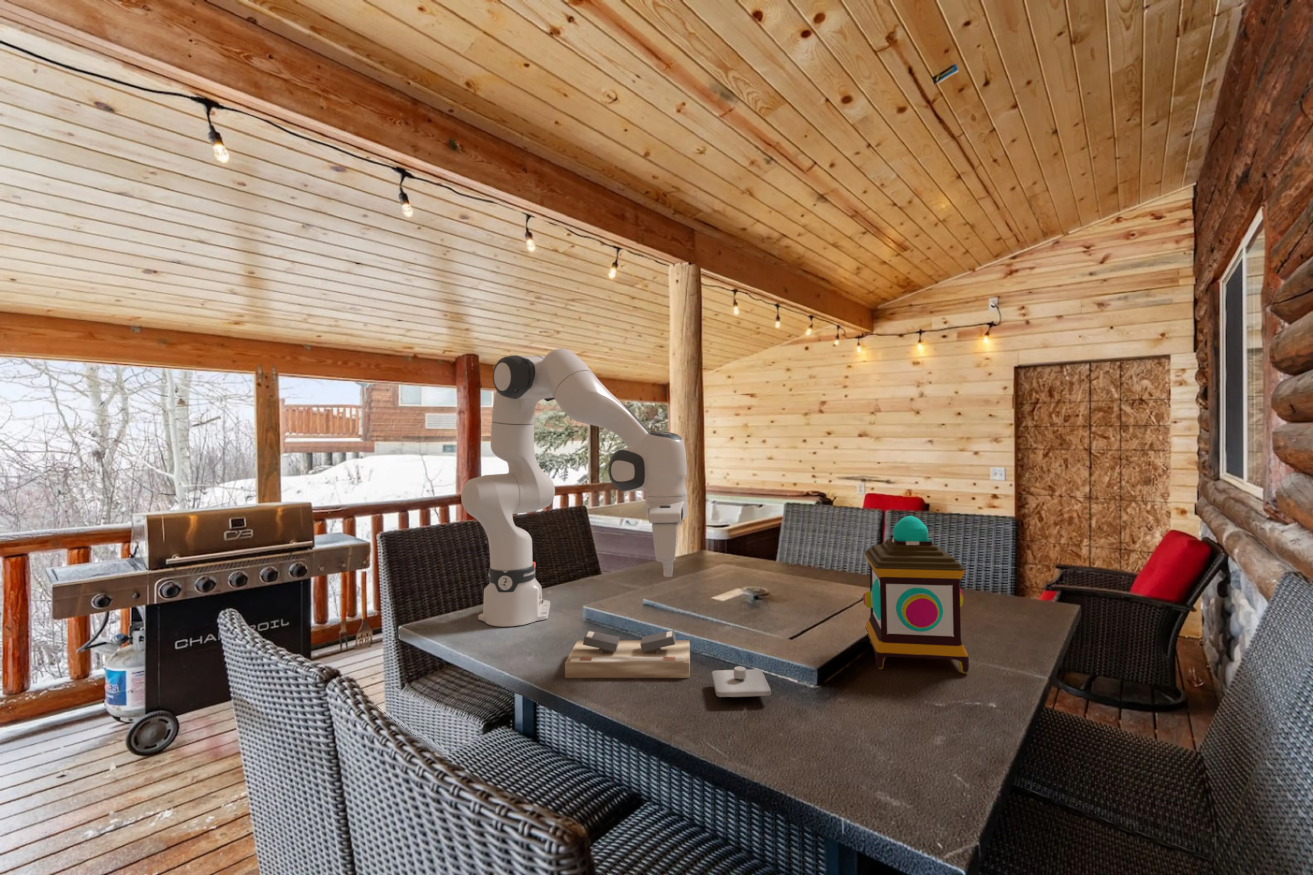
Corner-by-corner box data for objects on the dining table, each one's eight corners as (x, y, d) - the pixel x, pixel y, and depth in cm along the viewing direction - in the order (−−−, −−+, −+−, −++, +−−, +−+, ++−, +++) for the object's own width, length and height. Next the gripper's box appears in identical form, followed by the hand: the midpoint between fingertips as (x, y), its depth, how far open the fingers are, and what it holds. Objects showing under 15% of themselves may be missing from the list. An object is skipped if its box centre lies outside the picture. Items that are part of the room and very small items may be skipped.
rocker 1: (586, 637, 130) (588, 629, 130) (618, 644, 129) (619, 636, 129) (582, 644, 125) (584, 636, 125) (615, 651, 125) (617, 643, 125)
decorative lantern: (858, 638, 140) (855, 509, 140) (950, 642, 136) (947, 509, 136) (871, 672, 121) (867, 522, 120) (978, 678, 116) (975, 523, 116)
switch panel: (577, 653, 134) (577, 636, 134) (690, 653, 133) (689, 635, 133) (565, 677, 121) (564, 657, 121) (689, 677, 120) (688, 657, 120)
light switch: (772, 706, 107) (771, 677, 107) (717, 707, 107) (716, 679, 107) (761, 683, 117) (761, 657, 117) (711, 684, 117) (710, 658, 117)
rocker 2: (643, 644, 129) (642, 636, 129) (675, 637, 129) (673, 629, 129) (642, 651, 125) (640, 643, 125) (674, 644, 124) (673, 636, 124)
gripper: (655, 503, 137) (656, 563, 137) (648, 515, 116) (649, 586, 117) (682, 502, 136) (684, 563, 137) (680, 515, 116) (682, 586, 116)
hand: (668, 574), depth 126 cm, fingers closed
